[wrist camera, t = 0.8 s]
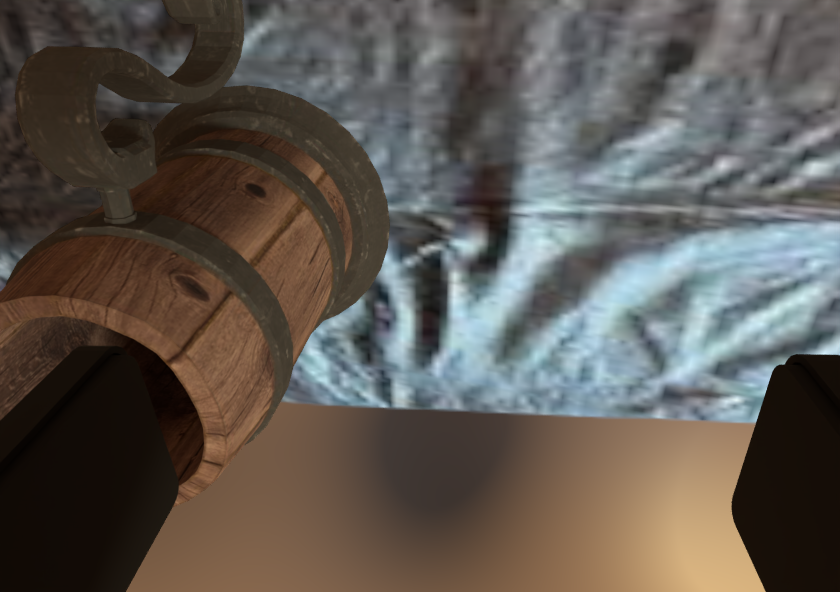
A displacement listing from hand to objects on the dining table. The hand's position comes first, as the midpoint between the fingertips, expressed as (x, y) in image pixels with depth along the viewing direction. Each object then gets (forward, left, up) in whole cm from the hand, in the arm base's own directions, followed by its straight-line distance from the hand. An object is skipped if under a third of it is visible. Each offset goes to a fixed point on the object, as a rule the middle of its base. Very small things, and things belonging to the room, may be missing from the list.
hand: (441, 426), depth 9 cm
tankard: (+5, -13, -29) cm, 32 cm away
